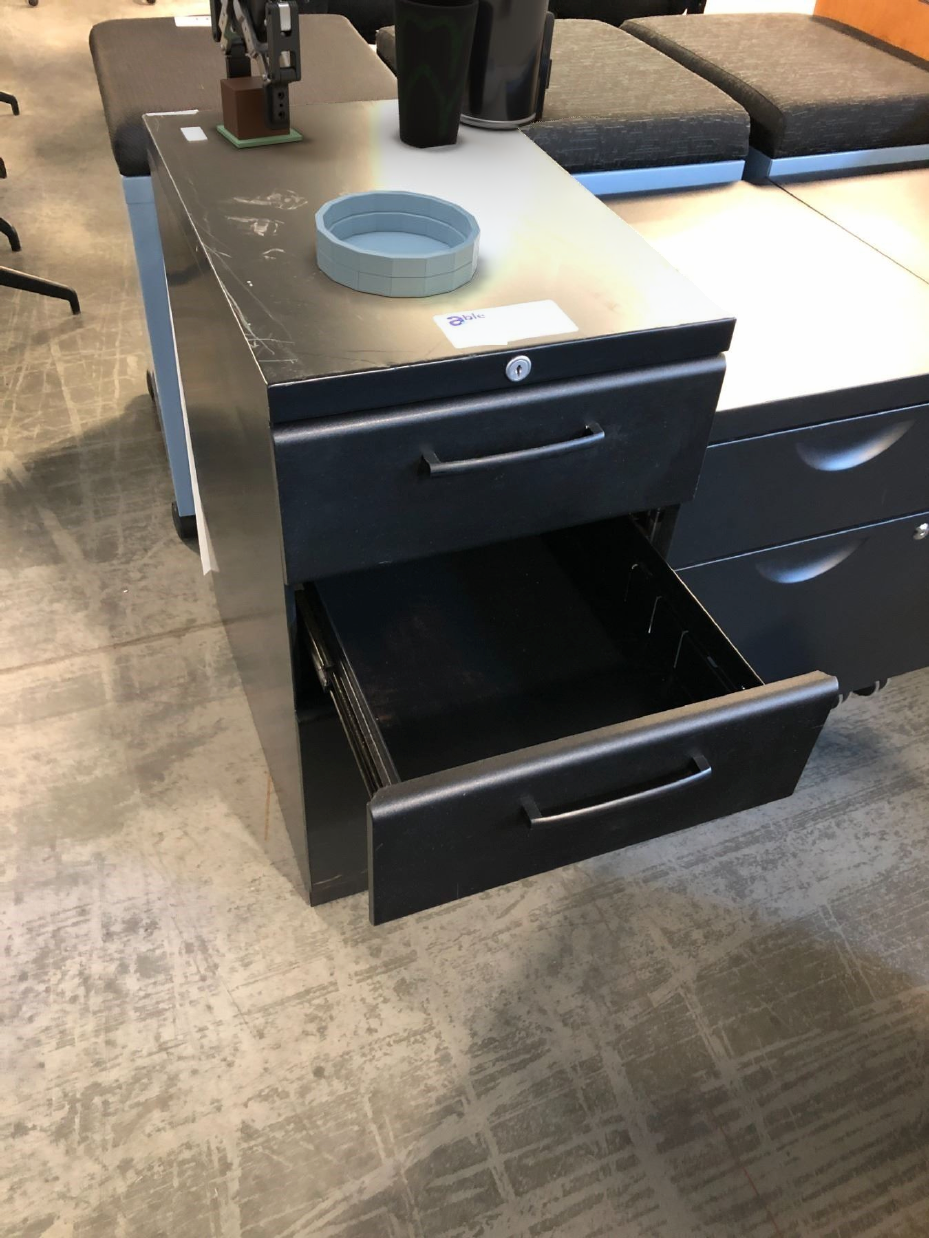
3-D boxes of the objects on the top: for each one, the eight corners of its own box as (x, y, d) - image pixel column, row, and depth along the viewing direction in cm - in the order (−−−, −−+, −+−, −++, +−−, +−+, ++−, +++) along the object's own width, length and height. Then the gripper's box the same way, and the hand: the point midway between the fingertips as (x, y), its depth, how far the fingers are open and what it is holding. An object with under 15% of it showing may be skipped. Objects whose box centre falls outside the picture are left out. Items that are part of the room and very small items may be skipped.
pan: (423, 225, 80) (425, 182, 77) (505, 287, 73) (510, 241, 70) (289, 249, 74) (287, 203, 72) (364, 318, 68) (364, 269, 65)
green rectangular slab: (279, 123, 94) (279, 118, 94) (302, 140, 91) (301, 136, 91) (217, 130, 91) (216, 125, 91) (238, 148, 89) (238, 143, 88)
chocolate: (275, 122, 93) (272, 74, 90) (290, 134, 91) (288, 85, 88) (223, 128, 91) (219, 79, 88) (238, 140, 89) (234, 90, 86)
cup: (458, 158, 91) (469, 12, 83) (380, 145, 92) (383, -1, 84) (473, 132, 97) (485, -7, 88) (399, 121, 97) (404, -19, 89)
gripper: (326, -84, 76) (330, 135, 88) (252, -118, 84) (264, 87, 96) (237, -83, 73) (252, 145, 84) (168, -118, 81) (191, 94, 93)
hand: (258, 114), depth 90 cm, fingers open, 7 cm apart
